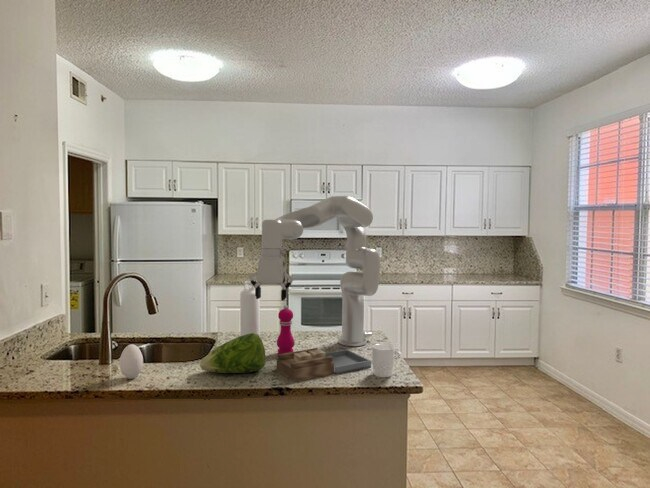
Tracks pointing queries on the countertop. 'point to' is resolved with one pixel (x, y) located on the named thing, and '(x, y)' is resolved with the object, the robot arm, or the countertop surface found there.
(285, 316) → the pepper mill
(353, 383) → the countertop surface
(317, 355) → the chip
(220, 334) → the countertop surface
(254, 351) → the lettuce
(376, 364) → the white cup
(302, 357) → the chip
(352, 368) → the tray
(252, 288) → the bottle
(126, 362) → the egg
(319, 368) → the brown wooden box
